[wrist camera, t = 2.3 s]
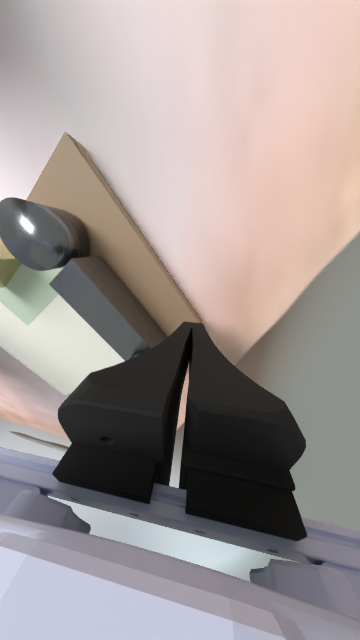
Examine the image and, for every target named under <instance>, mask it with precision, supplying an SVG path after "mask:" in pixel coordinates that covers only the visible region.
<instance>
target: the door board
mask: <svg viewBox="0 0 360 640" xmlns="http://www.w3.org/2000/svg"><path fill="white" fill-rule="evenodd" d="M26 201H30V202H34V203H38V204H42V205H46V206H50V207H54V208H58V209H62V210H65V211H68V212H69V213H71V214H73V215H74V216H75V217H76V218H77V219H78V220H79V221H80V222H81V224H82V225H83V226H84V228H85V230H86V232H87V234H88V237H89V241H90V253H89V256H88V257H93V256H101V257H102V258H103V259H104V261H105V262H106V263H107V264H108V266H109V267H110V268H111V269H112V271H113V272H114V273H115V274H116V275H117V277H118V278H119V279H120V280H121V282H122V283H123V284H124V285H125V287H126V288H127V289H128V290H129V291H130V293H131V294H132V295H133V296H134V298H135V299H136V300H137V301H138V303H139V304H140V305H141V306H142V307H143V309H144V310H145V311H146V312H147V314H148V315H149V316H150V317H151V319H152V320H153V321H154V322H155V323H156V325H157V326H158V327H159V328H160V330H161V331H162V332H163V333H164V335H165V336H166V337H168V336H170V335H171V334H172V333H173V332H174V331H175V330H176V329H177V328H178V327H179V326H180V325H181V324H182V323H183V322H184V321H185V322H195V323H201V319H200V318H199V316H198V315H197V313H196V312H195V311H194V309H193V308H192V306H191V305H190V303H189V302H188V300H187V299H186V297H185V296H184V294H183V293H182V292H181V290H180V289H179V287H178V286H177V284H176V283H175V281H174V280H173V278H172V277H171V275H170V274H169V273H168V271H167V270H166V268H165V267H164V265H163V264H162V262H161V261H160V259H159V258H158V257H157V255H156V254H155V252H154V251H153V249H152V248H151V246H150V245H149V243H148V242H147V240H146V239H145V238H144V236H143V235H142V233H141V232H140V230H139V229H138V227H137V226H136V224H135V223H134V221H133V220H132V219H131V217H130V216H129V214H128V213H127V211H126V210H125V208H124V207H123V205H122V204H121V202H120V201H119V200H118V198H117V197H116V195H115V194H114V192H113V191H112V189H111V188H110V186H109V185H108V183H107V182H106V181H105V179H104V178H103V176H102V175H101V173H100V172H99V170H98V169H97V167H96V166H95V165H94V163H93V162H92V160H91V159H90V157H89V156H88V154H87V153H86V151H85V150H84V148H83V147H82V146H81V144H80V143H79V142H77V141H76V140H75V139H74V138H72V137H71V136H70V135H69V134H67V133H66V132H65V133H64V135H63V137H62V138H61V140H60V142H59V144H58V145H57V147H56V149H55V151H54V152H53V154H52V156H51V158H50V159H49V161H48V163H47V165H46V167H45V168H44V170H43V172H42V174H41V175H40V177H39V179H38V181H37V182H36V184H35V186H34V188H33V190H32V191H31V193H30V195H29V197H28V198H27V200H26ZM62 269H63V268H58V269H52V270H46V271H37V270H33V269H31V268H28V267H27V266H25V265H23V264H21V265H20V267H19V268H18V270H17V271H16V273H15V274H14V275H13V277H12V278H11V280H10V281H9V283H8V284H7V285H6V287H3V288H0V347H1V348H2V349H4V350H5V351H6V352H8V353H9V354H10V355H12V356H13V357H14V358H16V359H17V360H18V361H19V362H21V363H22V364H23V365H25V366H26V367H27V368H29V369H30V370H31V371H33V372H34V373H35V374H36V375H38V376H39V377H40V378H42V379H43V380H44V381H46V382H47V383H48V384H50V385H51V386H52V387H53V388H55V389H56V390H57V391H59V392H60V393H61V394H63V395H64V396H66V395H68V394H70V393H72V392H73V391H74V390H75V389H76V388H77V387H78V385H79V384H80V383H81V382H82V381H83V380H84V379H85V378H86V377H87V376H88V375H89V374H90V373H91V372H95V371H98V370H101V369H104V368H107V367H110V366H114V365H116V364H119V363H122V362H124V361H125V360H124V359H123V358H122V357H121V356H120V355H119V354H118V353H117V352H116V351H115V350H114V349H113V348H112V347H111V346H110V345H109V344H108V343H107V342H106V341H105V340H104V339H103V338H102V337H101V336H100V335H99V334H98V333H97V332H96V331H95V330H94V329H93V328H92V327H91V326H90V325H89V324H88V323H87V322H86V321H85V320H84V319H83V318H82V317H81V316H80V315H79V314H78V313H77V312H76V311H75V310H74V309H73V308H72V307H71V306H70V305H69V304H68V303H67V302H66V301H65V300H64V299H63V298H62V297H61V296H60V295H59V294H58V293H57V292H56V291H55V290H54V289H53V288H52V287H51V286H50V285H49V284H50V282H51V281H52V280H53V279H54V278H55V277H56V276H57V275H58V273H59V272H60V271H61V270H62Z"/></svg>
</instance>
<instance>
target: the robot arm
mask: <svg viewBox="0 0 360 640" xmlns="http://www.w3.org/2000/svg"><path fill="white" fill-rule="evenodd" d="M188 363H189V386H188V394H187V404H186V415H185V428H184V438H183V448H182V458H181V469H180V481H179V488H174V487H170V486H169V482H170V474H171V466H172V458H173V451H174V444H175V436H176V429H177V422H178V414H179V407H180V400H181V394H182V389H183V384H184V380H185V376H186V372H187V368H188ZM58 419H59V422H60V424H61V426H62V427H63V429H64V431H65V432H66V434H67V436H68V437H69V439H70V441H71V442H72V444H71V446H70V447H69V449H68V450H67V452H66V453H65V455H64V456H63V458H62V459H61V461H57V460H54V459H49V458H45V457H40V456H36V455H32V454H28V453H23V452H18V451H15V450H10V449H6V448H1V447H0V640H360V530H356V529H351V528H347V527H342V526H338V525H334V524H330V523H325V522H321V521H317V520H312V519H308V518H304V517H301V515H300V513H299V510H298V507H297V504H296V501H295V499H294V496H293V493H292V491H294V490H295V484H294V482H293V479H292V476H291V474H290V471H289V470H290V469H291V467H292V466H293V465H294V464H295V463H296V462H297V461H298V460H299V458H300V457H301V456H302V454H303V452H304V450H305V448H306V442H305V441H306V440H305V438H304V437H303V434H302V433H301V431H300V429H299V427H298V425H297V423H296V421H295V419H294V417H293V415H292V414H291V412H290V411H289V409H288V407H287V405H286V404H285V402H284V401H282V400H281V399H279V398H278V397H276V396H275V395H273V394H272V393H270V392H268V391H267V390H265V389H264V388H262V387H261V386H259V385H258V384H256V383H255V382H254V381H252V380H251V379H250V378H248V377H247V376H246V375H244V374H243V373H242V372H241V371H239V370H238V369H237V368H236V367H235V366H234V365H233V364H232V363H230V362H229V361H228V360H227V359H226V358H225V357H224V355H223V354H222V353H221V352H220V351H219V350H218V348H217V347H216V346H215V344H214V343H213V341H212V340H211V338H210V337H209V335H208V333H207V332H206V330H205V328H204V325H203V324H202V323H195V322H185V321H184V322H183V323H182V324H181V325H180V326H179V327H178V328H177V329H176V330H175V331H174V332H173V333H172V334H171V335H170V336H168V337H167V338H166V339H165V340H163V341H162V342H161V343H159V344H158V345H156V346H155V347H153V348H152V349H150V350H148V351H146V352H144V353H142V354H140V355H138V356H136V357H134V358H132V359H129V360H127V361H124V362H122V363H119V364H116V365H114V366H110V367H107V368H104V369H101V370H98V371H95V372H91V373H90V374H89V375H88V376H87V377H86V378H85V379H84V380H83V381H82V382H81V383H80V384H79V385H78V387H77V388H76V389H75V390H74V391H73V392H72V393H71V394H70V395H69V397H68V398H67V399H66V400H65V401H64V402H63V403H62V404H61V406H60V407H59V409H58ZM47 495H48V496H52V497H55V498H59V499H63V500H67V501H71V502H74V503H78V504H82V505H86V506H89V507H93V508H97V509H101V510H105V511H108V512H112V513H116V514H120V515H124V516H127V517H131V518H135V519H139V520H143V521H146V522H150V523H154V524H157V525H161V526H165V527H169V528H173V529H177V530H181V531H184V532H188V533H192V534H195V535H199V536H203V537H207V538H210V539H214V540H218V541H222V542H225V543H229V544H233V545H237V546H241V547H245V548H248V549H252V550H256V551H259V552H263V553H267V554H271V555H275V556H278V557H282V558H286V559H290V560H293V561H297V562H290V561H283V560H275V559H271V560H270V562H269V564H268V566H266V567H264V568H259V569H251V571H250V580H251V582H249V581H245V580H242V579H240V578H237V577H233V576H230V575H227V574H224V573H221V572H218V571H215V570H212V569H209V568H206V567H203V566H200V565H196V564H193V563H190V562H186V561H183V560H180V559H177V558H174V557H170V556H167V555H163V554H160V553H157V552H153V551H149V550H146V549H143V548H139V547H136V546H132V545H129V544H125V543H121V542H118V541H114V540H110V539H106V538H102V537H98V536H95V535H91V534H89V532H90V530H91V528H90V525H89V524H88V523H86V522H85V521H83V520H82V519H80V518H79V517H78V516H77V515H76V514H75V513H73V510H72V509H71V507H70V506H68V505H66V504H63V503H61V502H58V501H56V500H54V499H51V498H49V497H48V496H47ZM298 562H301V563H298Z"/></svg>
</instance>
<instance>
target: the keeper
mask: <svg viewBox="0 0 360 640" xmlns="http://www.w3.org/2000/svg"><path fill="white" fill-rule="evenodd" d="M21 264H22V263H20V262H19V261H18V260H17V259H16V258H15V257H14V256H13V255H12V254H11V253H10V252H9V250H8V249H7V248H6V246H5V245H4V243H3V241H2V239H1V237H0V288H3V287H6V285H7V284H8V283H9V281H10V280H11V278H12V277H13V275H14V274H15V273H16V271H17V270H18V268H19V267H20V265H21Z"/></svg>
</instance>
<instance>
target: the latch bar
mask: <svg viewBox="0 0 360 640" xmlns="http://www.w3.org/2000/svg"><path fill="white" fill-rule="evenodd" d="M0 237H1V239H2V241H3V243H4V245H5V246H6V248H7V249H8V250H9V252H10V253H11V254H12V255H13V256H14V257H15V258H16V259H17V260H18V261H19V262H20V263H22V264H23V265H25V266H27V267H28V268H31V269H33V270H37V271H46V270H52V269H58V268H63V269H62V270H61V271H60V272H59V273H58V275H57V276H56V277H55V278H54V279H53V280H52V281H51V282H50V284H49V285H50V286H51V287H52V288H53V289H54V290H55V291H56V292H57V293H58V294H59V295H60V296H61V297H62V298H63V299H64V300H65V301H66V302H67V303H68V304H69V305H70V306H71V307H72V308H73V309H74V310H75V311H76V312H77V313H78V314H79V315H80V316H81V317H82V318H83V319H84V320H85V321H86V322H87V323H88V324H89V325H90V326H91V327H92V328H93V329H94V330H95V331H96V332H97V333H98V334H99V335H100V336H101V337H102V338H103V339H104V340H105V341H106V342H107V343H108V344H109V345H110V346H111V347H112V348H113V349H114V350H115V351H116V352H117V353H118V354H119V355H120V356H121V357H122V358H123V359H124V360H125V361H127V360H129V359H132V358H134V357H136V356H138V355H140V354H142V353H144V352H146V351H148V350H150V349H152V348H153V347H155V346H156V345H158V344H159V343H161V342H162V341H163V340H165V339H166V338H167V337H166V336H165V335H164V333H163V332H162V331H161V330H160V328H159V327H158V326H157V325H156V323H155V322H154V321H153V320H152V319H151V317H150V316H149V315H148V314H147V312H146V311H145V310H144V309H143V307H142V306H141V305H140V304H139V303H138V301H137V300H136V299H135V298H134V296H133V295H132V294H131V293H130V291H129V290H128V289H127V288H126V287H125V285H124V284H123V283H122V282H121V280H120V279H119V278H118V277H117V275H116V274H115V273H114V272H113V271H112V269H111V268H110V267H109V266H108V264H107V263H106V262H105V261H104V259H103V258H102V257H101V256H93V257H88V256H89V253H90V241H89V237H88V234H87V232H86V230H85V228H84V226H83V225H82V224H81V222H80V221H79V220H78V219H77V218H76V217H75V216H74V215H73V214H71V213H69V212H68V211H65V210H62V209H58V208H54V207H50V206H46V205H42V204H38V203H34V202H30V201H26V200H22V199H18V198H6V199H4V200H2V201H1V202H0Z"/></svg>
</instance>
